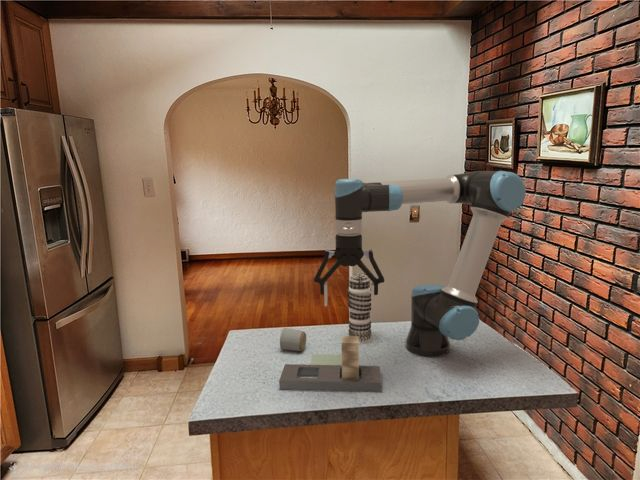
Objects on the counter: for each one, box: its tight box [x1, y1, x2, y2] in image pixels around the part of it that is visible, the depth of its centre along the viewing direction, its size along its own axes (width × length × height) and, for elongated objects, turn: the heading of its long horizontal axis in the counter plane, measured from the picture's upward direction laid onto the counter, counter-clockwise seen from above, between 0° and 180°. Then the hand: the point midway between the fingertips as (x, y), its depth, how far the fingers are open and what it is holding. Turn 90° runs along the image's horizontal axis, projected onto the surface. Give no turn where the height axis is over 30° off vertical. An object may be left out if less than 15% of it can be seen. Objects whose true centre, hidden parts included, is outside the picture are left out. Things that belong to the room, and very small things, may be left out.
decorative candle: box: [346, 272, 372, 344], centre depth 155 cm, size 9×9×25 cm
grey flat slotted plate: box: [278, 363, 383, 393], centre depth 127 cm, size 30×10×3 cm, turn 85°
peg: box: [341, 335, 360, 379], centre depth 125 cm, size 5×5×14 cm
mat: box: [309, 353, 342, 365], centre depth 139 cm, size 11×11×1 cm
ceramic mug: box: [279, 327, 307, 352], centre depth 151 cm, size 11×8×8 cm
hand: (349, 305), depth 122 cm, fingers open, 13 cm apart
